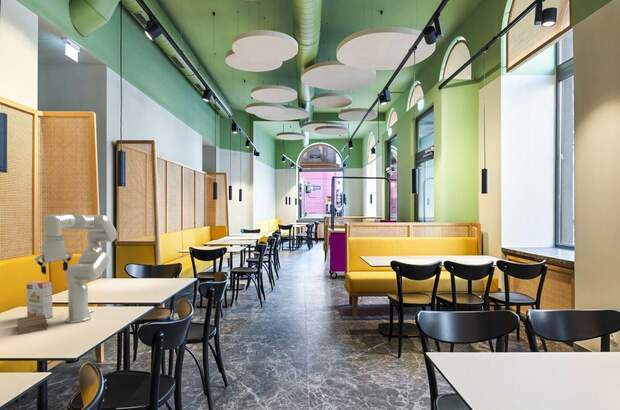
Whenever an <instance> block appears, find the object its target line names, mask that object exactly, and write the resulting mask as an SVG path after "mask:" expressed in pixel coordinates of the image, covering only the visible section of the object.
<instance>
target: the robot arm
mask: <svg viewBox="0 0 620 410" xmlns="http://www.w3.org/2000/svg"><path fill="white" fill-rule="evenodd" d="M43 228H44V230H43V231H44V233H43V234H44V242H42V245H41V246H42V247H41V254H39V255H38V256H36V257H35V258H34V261H35V262H36V264H37V265H39V266H40V272H41V273H42V275H47V267H46V265H47V264H48V263H51V262H59V261H62V270H63V271H65V276H66V277H65V278H66V281H67V291H68V293H67V294H68V296H67V297H68V300H67V301H68V302H67V304H68V308H67V309H68V317H67V318H65V320H64V322H65V323H69V324H75V323H76V324H77V323H82V322H87V321H89V320H91V319H92V315H90V314H92V313H94V312H95V309H94V308H92V309H89V300H88V299H89V288H88V285H87V283H86V282H93V281H97V280H98V279H99V278H100V277H101V276H102V274H103V272H104V271H105V269H106V268H107V266H108V265H109V261H110V259H109V258H110V257H109V255H108V253H106V252H105V251H103V247H102V246H101V244H100V243H106V242H107V243H110V242H115V240H117V238H118V232H117V229H116V228H115V226H114V224H113V222H112V221H111V219H110V218H109V217H108V216H106V215H105V214H80V213H79V214H76V213H75V214H69V213H57V214H56V213H51V214H48V215H45V216H44V217H43ZM62 229H67V230H89V231H87V236H86V237H87V248H86V249H85V250H84V251H83V252H82V254H80V257H79V258H78V260H77V263H74V264H71V265H68V264H69V262H70V261H71V260H72V258H73V256H74V254H73V253H71V252H68V251H67V249H66V245H65V242H64V239H66V236H65V235H63V230H62ZM40 259H41V261H40Z"/></svg>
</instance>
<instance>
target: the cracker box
mask: <svg viewBox="0 0 620 410" xmlns="http://www.w3.org/2000/svg"><path fill="white" fill-rule="evenodd" d="M26 307H27V308H26V311H27V314H26V315H27V316H26V318H27V317H33V316H40V315H45V318H46V320H47V318H48V319H51V318H53V316H54V315H53V283H52V281H45V280H32V281H31V280H30V281H27V282H26Z"/></svg>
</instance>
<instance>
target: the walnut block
mask: <svg viewBox="0 0 620 410" xmlns="http://www.w3.org/2000/svg"><path fill="white" fill-rule="evenodd" d="M46 330H48V321H47V319H46V318H45V315H40V316H33V317H27V316H26V317H22V318H17V331H18V335H23V334H30V333H35V332H41V331H46Z"/></svg>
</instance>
